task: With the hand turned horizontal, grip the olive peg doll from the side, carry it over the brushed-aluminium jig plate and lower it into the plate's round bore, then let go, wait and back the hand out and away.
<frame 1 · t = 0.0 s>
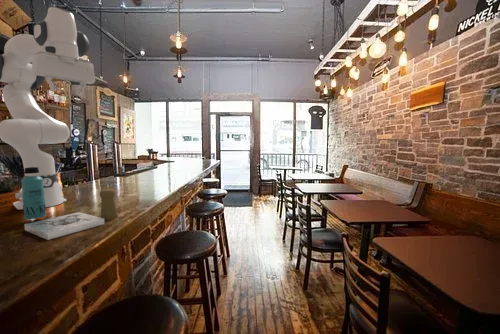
hand: (67, 92, 100), 48 cm above the counter, tool pointing down, fingers open, 8 cm apart
olive peg doll: (109, 218, 101), on the counter
jig plate: (65, 227, 90), on the counter
beverage bottle: (36, 221, 98), on the counter
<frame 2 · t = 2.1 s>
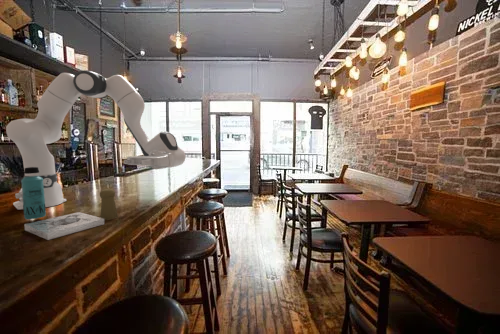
hand: (132, 162, 109), 20 cm above the counter, tool horizontal, fingers open, 8 cm apart
nothing on the counter moved.
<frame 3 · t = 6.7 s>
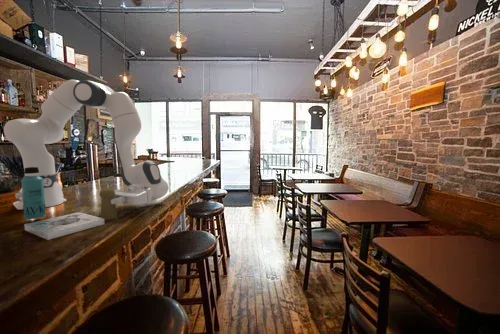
hand: (105, 201, 99), 7 cm above the counter, tool horizontal, fingers closed on olive peg doll, 4 cm apart
olive peg doll: (109, 217, 101), on the counter, touching gripper
everything else where it was.
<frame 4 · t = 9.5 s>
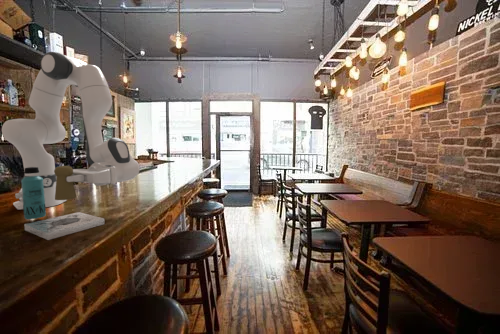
hand: (61, 178, 88), 17 cm above the counter, tool horizontal, fingers closed on olive peg doll, 4 cm apart
olive peg doll: (65, 198, 90), point 10 cm above the counter, touching gripper
everything else where it was.
when the fingers open (7 cm above the counter, at t = 12.4 s): olive peg doll moves 1 cm, resting in jig plate.
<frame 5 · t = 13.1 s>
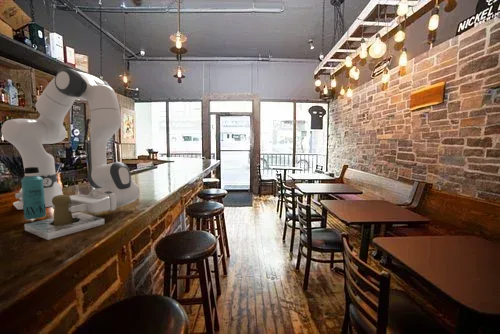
hand: (61, 208, 88), 7 cm above the counter, tool horizontal, fingers open, 8 cm apart
olive peg doll: (64, 227, 90), resting in jig plate
everything else where it was.
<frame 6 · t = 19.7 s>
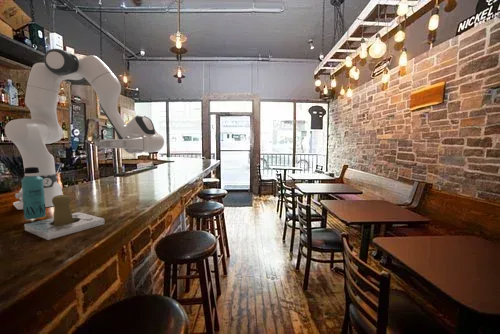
hand: (103, 144, 103), 28 cm above the counter, tool horizontal, fingers open, 8 cm apart
nothing on the counter moved.
at the end: olive peg doll 1.2 cm off-centre on the jig plate, point 0.0 cm above the jig plate's base; olive peg doll tilted 0°; the gripper is holding nothing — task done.
